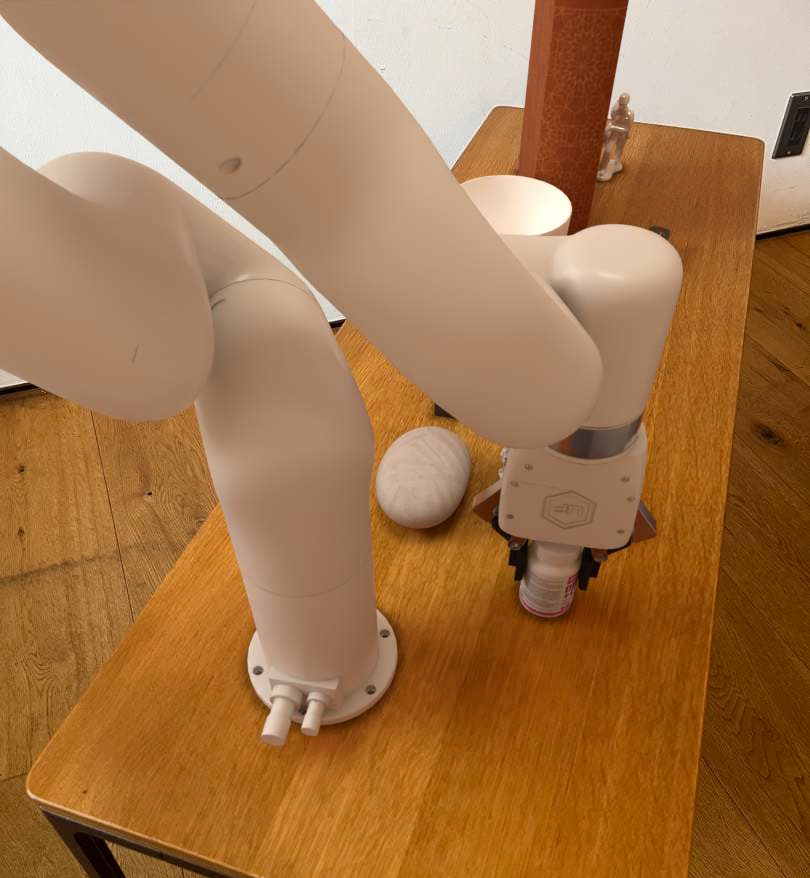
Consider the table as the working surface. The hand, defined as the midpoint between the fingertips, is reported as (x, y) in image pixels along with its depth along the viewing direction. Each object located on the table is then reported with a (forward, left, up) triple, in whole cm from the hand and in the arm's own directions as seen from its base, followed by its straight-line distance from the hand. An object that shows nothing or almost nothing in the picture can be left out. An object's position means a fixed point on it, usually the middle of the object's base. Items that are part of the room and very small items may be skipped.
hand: (551, 571), depth 68 cm
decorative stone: (+11, +13, -4) cm, 17 cm away
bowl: (+52, +10, -4) cm, 53 cm away
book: (+71, +5, -4) cm, 71 cm away
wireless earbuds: (+58, -10, -4) cm, 59 cm away
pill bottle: (0, 0, -4) cm, 4 cm away
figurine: (+83, -3, -4) cm, 83 cm away
